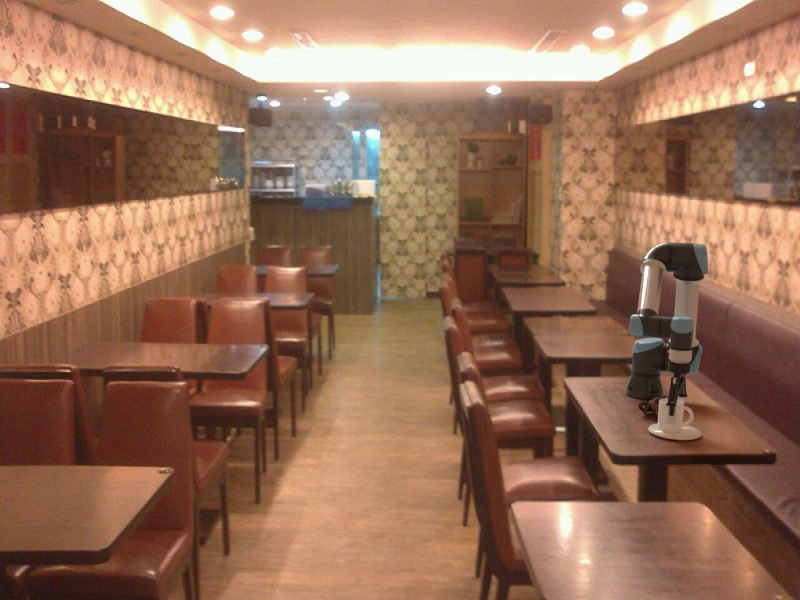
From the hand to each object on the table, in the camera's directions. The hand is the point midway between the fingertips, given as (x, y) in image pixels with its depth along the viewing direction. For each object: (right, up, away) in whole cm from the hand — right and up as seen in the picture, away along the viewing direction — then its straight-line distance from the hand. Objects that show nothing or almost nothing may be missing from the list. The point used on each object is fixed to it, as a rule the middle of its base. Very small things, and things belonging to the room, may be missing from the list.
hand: (675, 419), depth 327 cm
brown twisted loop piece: (-2, -2, +22) cm, 22 cm away
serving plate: (0, -5, +1) cm, 5 cm away
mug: (0, -4, +1) cm, 4 cm away
